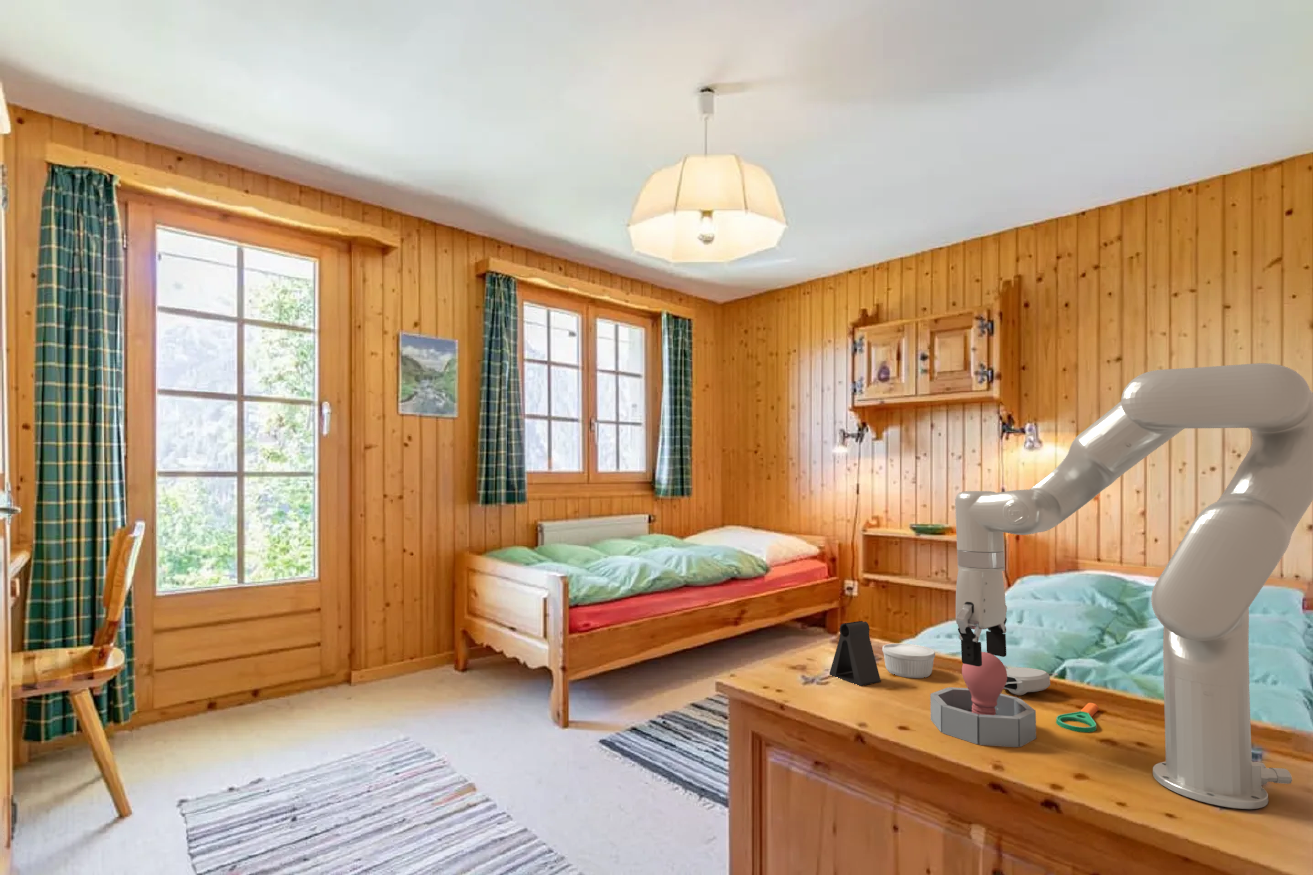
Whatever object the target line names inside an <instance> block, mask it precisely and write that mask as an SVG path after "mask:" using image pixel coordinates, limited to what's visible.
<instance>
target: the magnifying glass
mask: <svg viewBox="0 0 1313 875" xmlns="http://www.w3.org/2000/svg"><path fill="white" fill-rule="evenodd" d="M1099 709H1100V708H1099V706H1098V705H1097V704H1096V703H1095V702H1094V703H1093V702H1088V703H1087V704H1085V706H1084V707H1083V708H1082V709H1081V710H1079V711H1076V712H1067V713H1063V714H1058V715H1057V716H1056V718H1055V719H1056V720H1055V723H1056V725H1057V726H1059V727H1061V728H1062V729H1065V730H1068V731H1072V732H1076V733H1077V732H1078V733H1094V732H1095V731H1096V732H1097V723H1096V722H1095V720H1094V719H1093V716H1095V714H1096V713H1097V712H1098V711H1099ZM1066 721H1067V722H1068V721H1070V722H1075V723H1082V724H1085V725H1087V726H1083V727H1082V726H1076V725H1072V724H1068V723H1065V722H1066Z"/></svg>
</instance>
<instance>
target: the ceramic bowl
mask: <svg viewBox="0 0 1313 875" xmlns="http://www.w3.org/2000/svg"><path fill="white" fill-rule="evenodd" d="M971 698H972V696H971V693H970V691H969V689H968V687H952V686H951V687H950V686H949V687H945V688H943V689H942V688H941V689H940V690H937V691H935V692H932V693H931V692H930V721H931V722H932V723H933V725H934V726H935V727H936V728H937V729H938V731H939V732H940V733H942V734H944V735H948V736H951V737H953V738H956V739H960V740H963V741H965V742H969V743H972V744H975V745H979V746H988V747H989V746H993V747H1009V748H1010V747H1011V748H1021V747H1023V746H1025V745H1027V744H1029V743H1030V742H1032V741H1034V740H1036V739H1037V718H1036V717H1037V716H1036V715H1037V714H1036V713H1037V712H1036V709H1034V708H1033V707H1032V706H1030V705H1029V704H1028V703H1027V702H1025V701H1024V700H1023V699H1022V698H1019V697H1017V696H1012V695H1009V694H1004V693H1001V694H1000V695H999V697H998V699H997V705H996V706H995V707H994V708H995V709H996V711H995V712H996V714H995V715H982V714H976V713H972V704H973V702H972V700H971Z"/></svg>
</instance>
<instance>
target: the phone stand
mask: <svg viewBox="0 0 1313 875" xmlns="http://www.w3.org/2000/svg"><path fill="white" fill-rule="evenodd" d="M870 629H871V628H870V625H869V623H868V622H867V621H863V620H861V621H860V620H858V621H853V622H846V623H845V622H843V623H842V624H840V626H839V639H838V642H837V646H836V649H835V654H834V656H833V660H832V663H831V666H830V670H829V676H830V675H832V676H831V677H833V676H835V677H834V678H836V677H838V678H837V679H839V678H840V679H839V680H841V679H842V681H845V682H848V683H850V684H853V683H854V684H853V685H855V684H857V685H856V686H858V685H859V687H863V685H864V686H867V685H872V684H871V683H873V684H877V683H881V676H880V672H879V668H878V665H877V660H876V657H875V654H874V649H873V646H872V642H871V638H870Z"/></svg>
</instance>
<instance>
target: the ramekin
mask: <svg viewBox="0 0 1313 875" xmlns="http://www.w3.org/2000/svg"><path fill="white" fill-rule="evenodd" d="M881 647H882V653H883V657H884V659H883V660H884V664H885V668H886V670H887V672H888V673H890V674H892V675H894V674H895V675H894V676H898V677H901V678H908V679H924V677H925V678H928V677H929V676H930V675H932V672H933V668H934V662H935V661H934V659H935V657H936V652H935V650H934V649H932V648H931V647H926V646H923V645H918V644H911V643H887V644H884V645H882V646H881Z"/></svg>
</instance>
